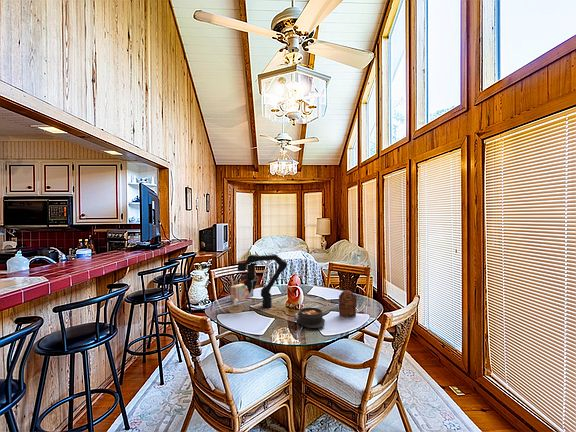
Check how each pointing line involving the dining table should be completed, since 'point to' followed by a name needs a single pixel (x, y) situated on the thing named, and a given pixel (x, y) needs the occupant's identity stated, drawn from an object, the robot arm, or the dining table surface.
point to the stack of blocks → (240, 292)
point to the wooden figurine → (347, 304)
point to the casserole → (311, 317)
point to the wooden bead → (235, 308)
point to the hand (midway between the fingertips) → (251, 291)
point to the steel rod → (235, 302)
